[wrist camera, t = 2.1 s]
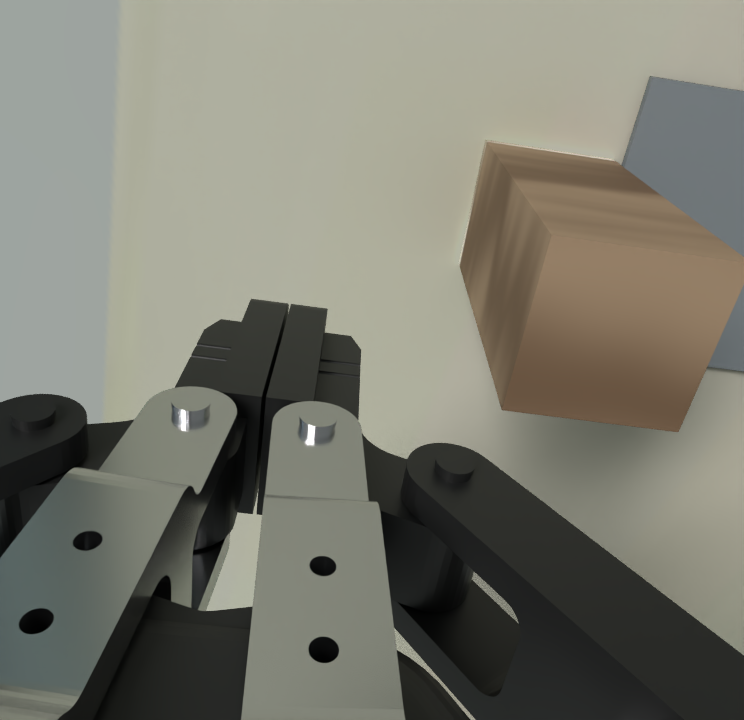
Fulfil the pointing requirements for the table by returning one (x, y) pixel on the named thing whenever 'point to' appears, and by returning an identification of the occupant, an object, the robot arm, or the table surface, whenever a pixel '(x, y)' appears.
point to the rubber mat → (697, 171)
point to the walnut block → (592, 289)
